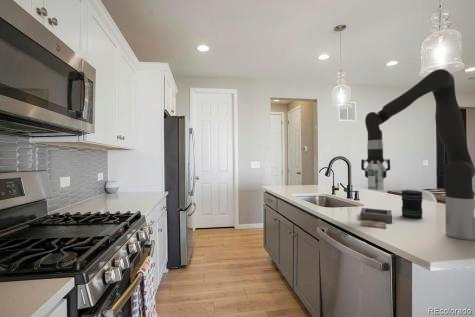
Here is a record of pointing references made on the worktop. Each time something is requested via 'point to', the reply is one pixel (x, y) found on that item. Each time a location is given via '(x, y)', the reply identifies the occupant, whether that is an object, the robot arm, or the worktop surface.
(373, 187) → the syrup box
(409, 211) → the storage jar
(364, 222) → the walnut pad
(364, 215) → the square-hole rail
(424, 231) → the worktop surface
